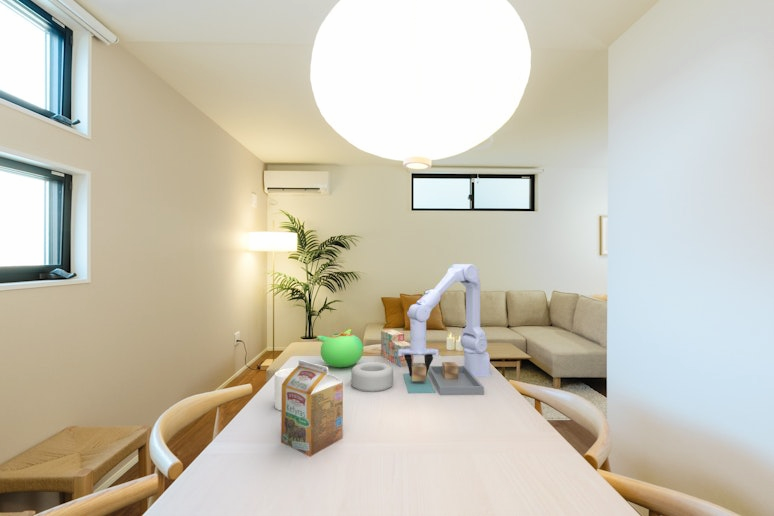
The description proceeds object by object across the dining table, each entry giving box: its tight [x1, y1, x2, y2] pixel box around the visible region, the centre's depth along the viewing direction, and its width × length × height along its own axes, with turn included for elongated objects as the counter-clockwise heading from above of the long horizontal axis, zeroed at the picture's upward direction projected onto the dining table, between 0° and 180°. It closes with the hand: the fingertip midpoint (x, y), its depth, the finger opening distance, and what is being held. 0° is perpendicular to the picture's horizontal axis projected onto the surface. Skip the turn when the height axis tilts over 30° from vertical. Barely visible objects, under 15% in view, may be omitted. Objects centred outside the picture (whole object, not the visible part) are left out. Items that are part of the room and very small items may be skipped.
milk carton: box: [280, 359, 344, 457], centre depth 88 cm, size 11×11×19 cm
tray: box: [427, 365, 485, 396], centre depth 129 cm, size 15×24×3 cm, turn 2°
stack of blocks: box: [380, 328, 414, 368], centre depth 158 cm, size 21×6×12 cm, turn 24°
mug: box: [274, 367, 295, 412], centre depth 108 cm, size 12×8×10 cm
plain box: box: [441, 361, 459, 379], centre depth 135 cm, size 5×5×5 cm
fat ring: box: [350, 361, 394, 393], centre depth 128 cm, size 15×15×7 cm
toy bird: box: [316, 328, 364, 368], centre depth 150 cm, size 18×17×15 cm
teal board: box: [402, 372, 436, 394], centre depth 128 cm, size 9×20×1 cm, turn 3°
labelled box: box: [411, 362, 426, 381], centre depth 128 cm, size 5×5×5 cm
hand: (418, 375), depth 128 cm, fingers closed on labelled box, 5 cm apart
